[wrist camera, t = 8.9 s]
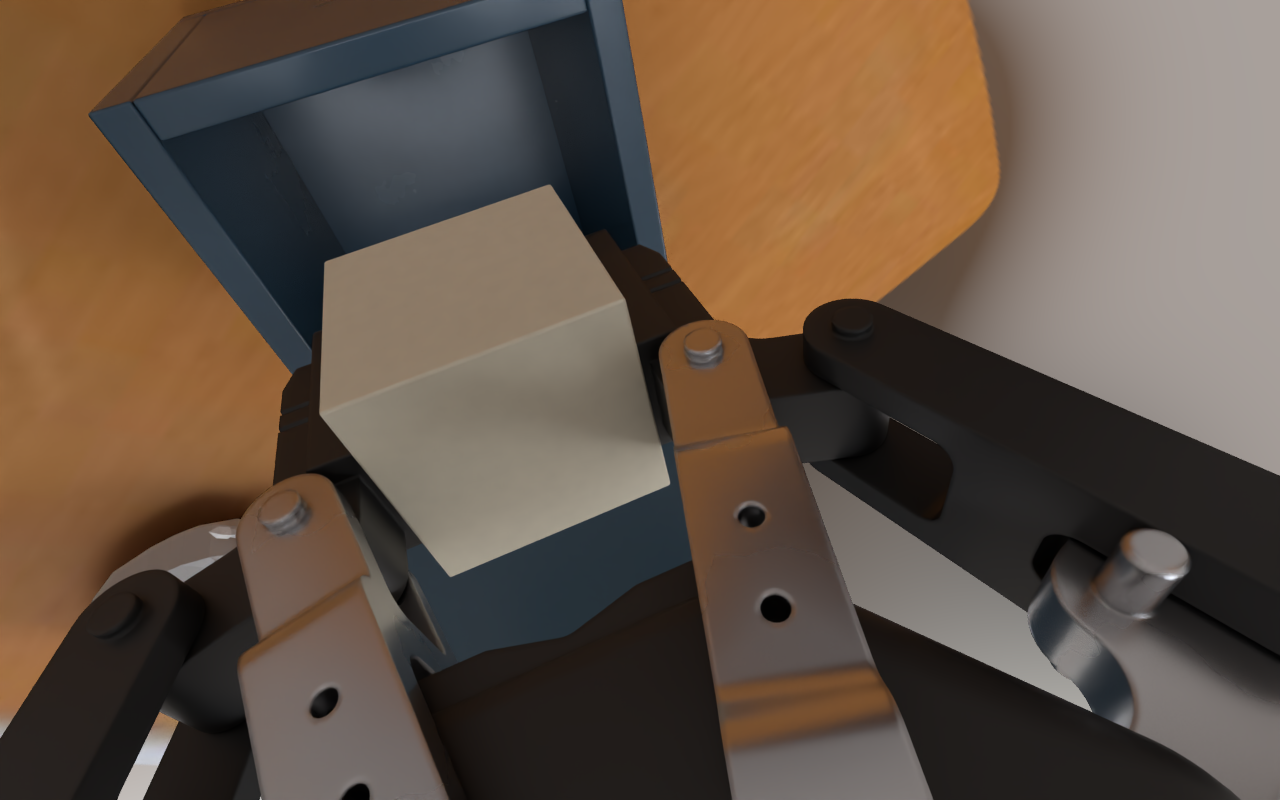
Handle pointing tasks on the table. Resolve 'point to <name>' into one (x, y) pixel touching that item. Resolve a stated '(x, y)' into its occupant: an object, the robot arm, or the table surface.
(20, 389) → the table surface
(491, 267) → the block
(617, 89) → the caddy
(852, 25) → the table surface
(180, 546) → the robot toy
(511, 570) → the lid
